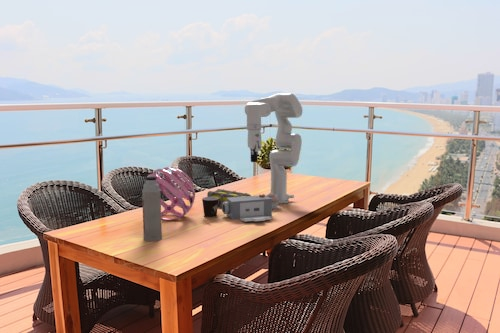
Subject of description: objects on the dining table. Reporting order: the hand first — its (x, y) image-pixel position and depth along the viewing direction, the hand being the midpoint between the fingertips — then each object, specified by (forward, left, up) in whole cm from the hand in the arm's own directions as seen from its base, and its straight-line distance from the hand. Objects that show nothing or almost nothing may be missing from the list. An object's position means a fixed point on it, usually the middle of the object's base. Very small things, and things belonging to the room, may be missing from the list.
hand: (254, 161), depth 248 cm
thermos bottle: (+57, +27, -29) cm, 69 cm away
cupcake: (-13, -8, -29) cm, 33 cm away
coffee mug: (+22, -2, -29) cm, 37 cm away
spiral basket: (+43, -7, -29) cm, 52 cm away
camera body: (+6, +4, -29) cm, 30 cm away
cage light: (+7, -24, -29) cm, 39 cm away
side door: (+4, +10, -28) cm, 30 cm away
